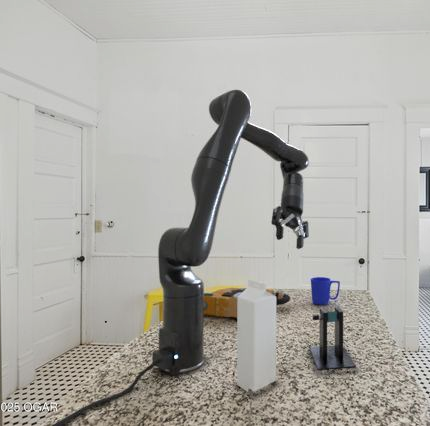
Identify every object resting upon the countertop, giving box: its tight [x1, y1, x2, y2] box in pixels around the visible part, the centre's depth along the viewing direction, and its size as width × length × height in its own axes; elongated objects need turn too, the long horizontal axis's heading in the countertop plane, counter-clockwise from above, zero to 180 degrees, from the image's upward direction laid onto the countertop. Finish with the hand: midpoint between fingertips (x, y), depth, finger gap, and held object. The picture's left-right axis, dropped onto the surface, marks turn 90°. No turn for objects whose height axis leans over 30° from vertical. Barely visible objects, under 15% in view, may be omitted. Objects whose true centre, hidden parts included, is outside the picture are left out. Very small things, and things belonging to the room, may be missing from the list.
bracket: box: [309, 306, 357, 371], centre depth 77 cm, size 12×9×13 cm
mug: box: [310, 276, 341, 306], centre depth 128 cm, size 8×12×10 cm
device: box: [204, 287, 291, 319], centre depth 117 cm, size 23×8×30 cm
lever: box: [312, 310, 337, 323], centre depth 82 cm, size 13×6×2 cm, turn 9°
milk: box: [236, 279, 277, 393], centre depth 66 cm, size 6×6×22 cm
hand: (289, 243), depth 96 cm, fingers open, 8 cm apart
